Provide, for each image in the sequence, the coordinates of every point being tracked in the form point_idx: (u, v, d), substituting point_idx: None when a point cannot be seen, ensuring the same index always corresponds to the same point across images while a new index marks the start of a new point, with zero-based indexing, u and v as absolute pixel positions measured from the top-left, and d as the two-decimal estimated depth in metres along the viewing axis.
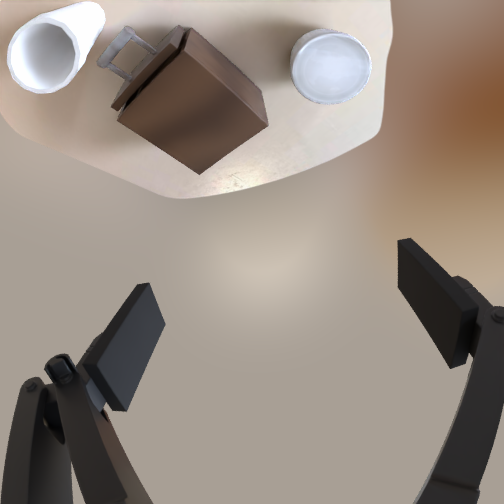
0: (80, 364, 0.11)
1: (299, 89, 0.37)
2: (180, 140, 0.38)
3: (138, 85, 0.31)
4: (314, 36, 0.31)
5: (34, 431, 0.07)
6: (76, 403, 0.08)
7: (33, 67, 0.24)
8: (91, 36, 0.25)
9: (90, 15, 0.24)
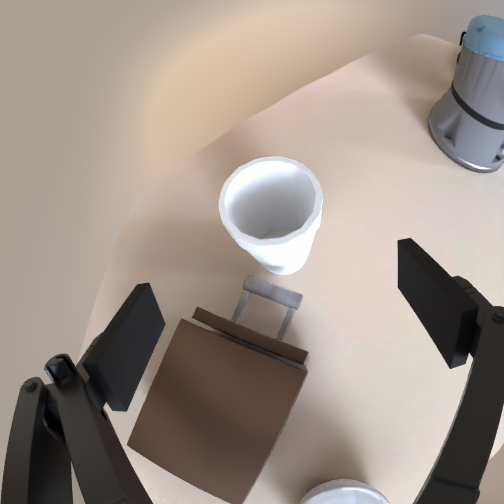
0: (80, 364, 0.11)
1: None
2: (171, 410, 0.26)
3: (236, 334, 0.28)
4: (371, 488, 0.23)
5: (34, 431, 0.07)
6: (76, 403, 0.08)
7: (243, 195, 0.32)
8: (289, 257, 0.31)
9: (306, 250, 0.33)
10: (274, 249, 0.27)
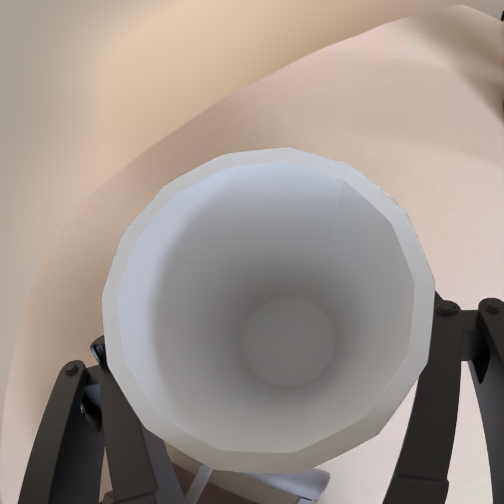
0: None
1: None
2: None
3: None
4: None
5: (68, 418, 0.08)
6: None
7: (190, 257, 0.12)
8: None
9: None
10: None
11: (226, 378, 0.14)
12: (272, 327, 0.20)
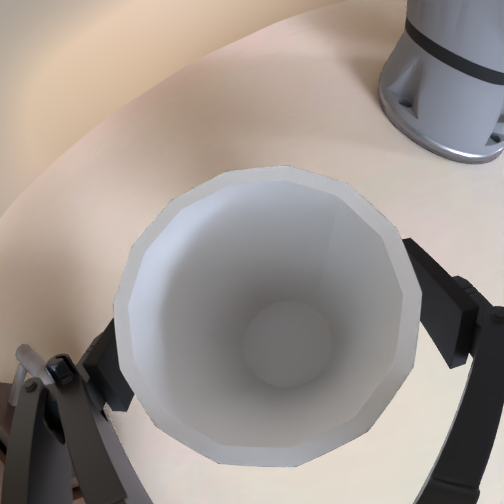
0: (80, 364, 0.11)
1: None
2: None
3: None
4: None
5: (34, 431, 0.07)
6: (76, 403, 0.08)
7: (194, 266, 0.13)
8: None
9: None
10: None
11: (228, 379, 0.15)
12: (272, 330, 0.20)
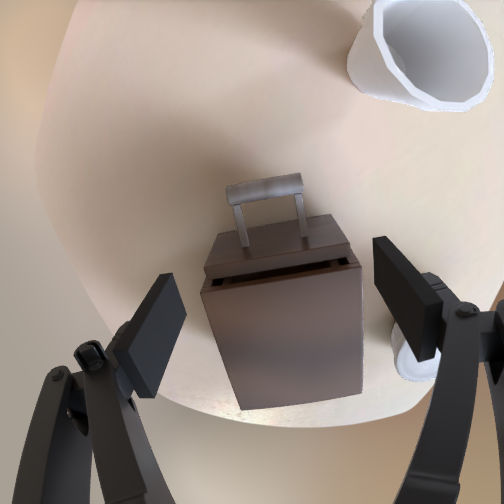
0: (107, 352, 0.12)
1: (398, 358, 0.32)
2: (257, 367, 0.27)
3: (266, 268, 0.24)
4: None
5: (56, 422, 0.08)
6: (103, 391, 0.09)
7: None
8: None
9: None
10: None
11: None
12: None
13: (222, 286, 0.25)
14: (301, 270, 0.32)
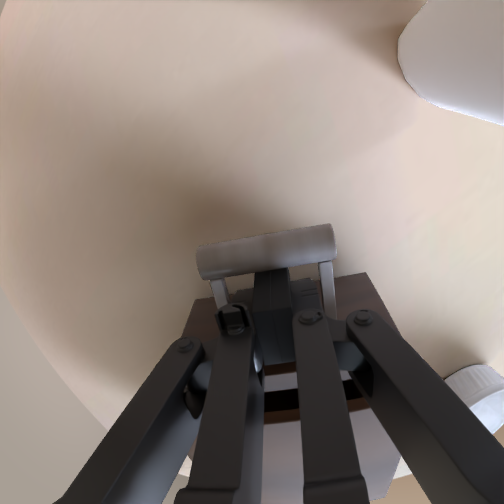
0: None
1: None
2: None
3: (266, 389, 0.13)
4: (497, 388, 0.19)
5: (165, 404, 0.08)
6: (235, 361, 0.09)
7: None
8: None
9: None
10: None
11: None
12: None
13: None
14: None
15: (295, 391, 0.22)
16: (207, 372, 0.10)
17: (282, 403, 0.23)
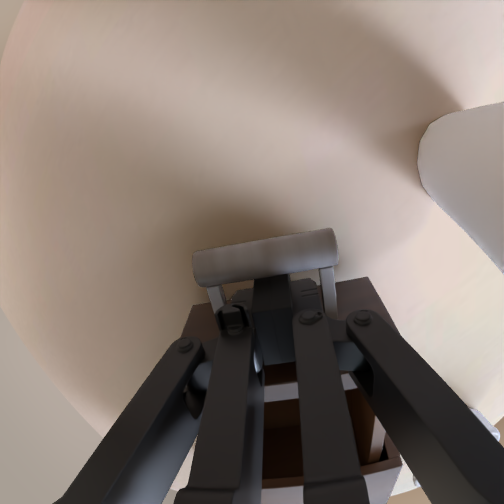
0: None
1: None
2: None
3: (265, 399, 0.13)
4: None
5: (165, 404, 0.08)
6: (235, 361, 0.09)
7: None
8: None
9: None
10: None
11: None
12: None
13: None
14: None
15: None
16: (207, 372, 0.10)
17: (282, 409, 0.22)
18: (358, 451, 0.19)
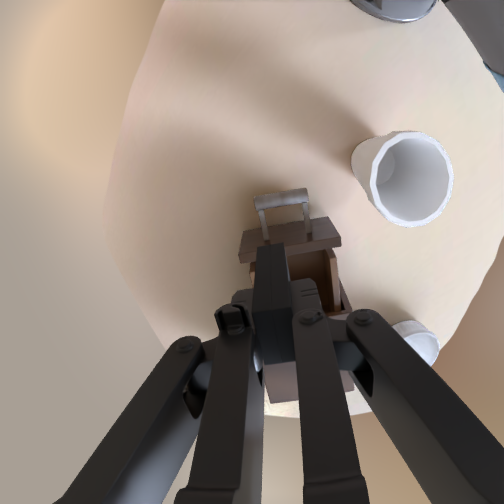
0: None
1: None
2: (284, 373, 0.40)
3: None
4: (417, 331, 0.43)
5: (165, 404, 0.08)
6: (235, 361, 0.09)
7: None
8: None
9: None
10: None
11: (381, 196, 0.34)
12: None
13: None
14: (306, 258, 0.42)
15: None
16: (207, 372, 0.10)
17: None
18: None
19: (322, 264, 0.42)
